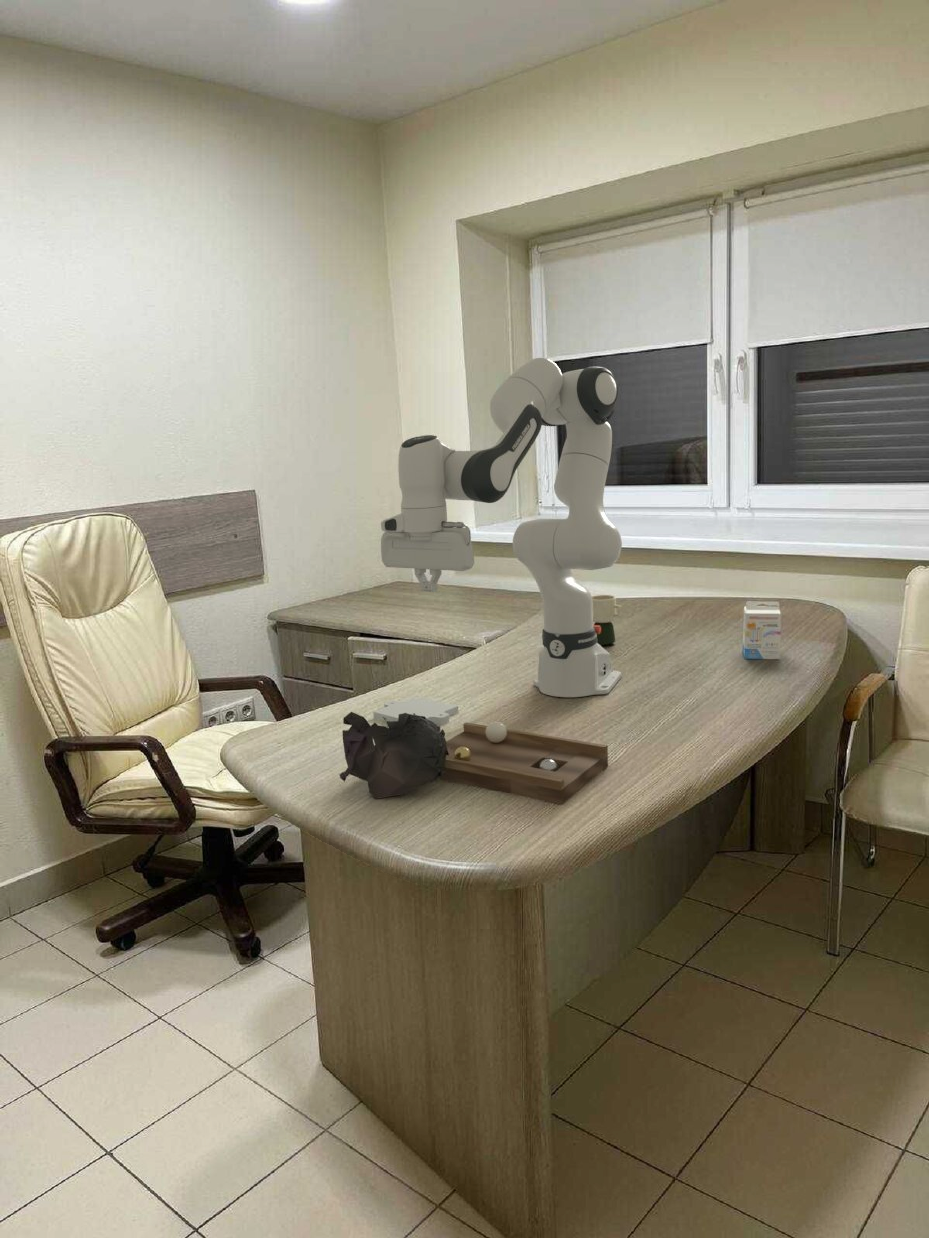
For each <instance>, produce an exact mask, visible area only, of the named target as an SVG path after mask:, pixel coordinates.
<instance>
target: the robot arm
mask: <svg viewBox="0 0 929 1238" xmlns="http://www.w3.org/2000/svg"><path fill="white" fill-rule="evenodd" d="M618 395H619V387H618V382H617V380H616V378H615V376H614V375H613V373H612V372H611V371H610V370H609V369H608V368H606V367H604V366H587V367H585V368H581V369H575V370H570V371H565V372H563V373H562V371H561V368H559V366H558V365H557V363H555V362H554V361H552V360H550V359H548V358H545V357H535V358H532V359H531V360H529V361H527V362H526V363H524V364H523V365H522V366H520V367H519V368H517V369H516V370H515V371H514V372H513V373H511V375H509V376H508V377H507V379H505V380H504V382H503V383H502V384H501V385H500V386H499V387H498V388H497V389H496V390H495V392H494V394H493V395H492V397H491V399H490V401H489V411H490V415H491V418H492V421H493V423H494V424H495V426H496V427H497V429H499V431H501V432H502V435H501V436H500V437H499V439H498V440H497V442H496V443H495V445H494V446H491V447H488V448H485V449H480V450H456V449H454V448H451V447H449V446H448V445H446V444H444V443H443V442H441V440H440V438H439V437H438V436H437V435H433V434H425V435H419V436H414V437H410V438H407V439H406V440H405V441H403V442H402V443H401V444H400V446H399V447H400V448H399V453H398V465H397V466H398V467H397V469H398V470H397V471H398V484H399V488H400V491H401V503H400V513H399V514H396V515H394V516H391V517H389V518H385V519H384V520H382V521H381V522H380V527H381V531H383V533H382V535H381V538H380V554H381V555H380V557H381V562H382V564H383V565H384V567H386V568H396V569H397V568H401V569H413V571H414V575H415V577H416V579H417V581H418V582H419V585H420V586H419V587H420V591H421V592H430V593H431V592H433V593H435V592H437V591H438V589H439V588H438V582H439V580H440V577H441V576H442V573H443V572H442V571H455V572H456V571H458V572H464V571H469V570H471V569H472V568H473V566H474V565H475V554H474V550H473V543H472V539H471V538H472V536H471V535H472V534H471V528H469V526H468V525H467V524H464V522H463V521H455V522H453V521H448V512H447V511H448V510H447V501H446V500H454V501H455V500H456V501H475V502H481V503H486V504H492V503H493V504H494V503H496V502H498V501H499V500H501V499H502V498H503V497H504V496H505V495H506V493H507V492H508V490H509V488H510V486H511V484H512V480H513V479H514V476H515V473H516V471H517V469H518V467H519V466H520V464H522V461H523V460H524V458H525V457H526V455H527V454H528V452H529V450H530V449H531V447H532V446H533V444H534V443H535V441H536V439H537V438H538V436H539V434H540V432H541V429H542V427H543V426H545V427H557V426H559V425H561V426H562V425H565V429H566V438H565V441H564V445H563V448H562V451H561V455H560V458H559V463H558V467H557V472H556V475H555V480H554V485H553V489H554V494H555V496H556V497H557V500H559V501H560V502H561V503H562V504H563V505H565V506H566V507H568V508H569V509H568V511H569V512H568V516H567V518H537V519H532V520H527V521H524V522H522V523H520V524H519V525H518V527H516V529H515V531H514V533H513V536H512V549H513V550H512V551H513V553H514V555H515V557H516V559H517V560H518V561H519V562H520V563H522V564H523V565H524V566H525V568H527V569H528V571H529V572H530V574H531V575H532V577H533V578H534V580H535V582H536V584H537V587H538V589H539V593H540V596H541V603H542V604H541V605H542V613H543V628H542V633H541V640H542V646H543V648H542V649H540V650H539V652H538V662H537V663H538V664H537V665H538V666H537V678H535V679H534V680H533V685H534V686H535V687H537V688H538V690H539V691H540V692H541V693H542V694H545V695H547V696H550V697H551V696H552V697H557V698H558V697H560V698H580V697H587V696H595V695H607V694H609V693H610V692H611V691H612V689H613V688H614V687H615V686H616V684H617V683H618V682H619V680H620V679H621V678H622V672H621V671H619V670H615V669H612V659H611V654H610V653H609V652H608V651H607V650H606V648H604V647H602V645H599V644H598V643H597V642H598V640H597V634H600V633H601V627H600V625H597V626H595V625H594V622H593V605H592V596H593V595H592V594H591V593H590V591H589V589H588V588H587V587H585V586H583V584H580V583H579V582H578V581H577V580H576V578H575V576H574V575H573V573H572V570H579V571H580V570H581V571H582V570H583V571H594V570H595V571H596V570H601V569H607V568H610V567H612V566H614V565H615V563H617V560H618V559H619V557H620V556H621V554H622V553H621V552H622V545H623V542H622V537H621V534H620V532H619V530H618V528H617V527H616V526H615V525H614V524H613V523H612V522H611V521H610V520H609V518H608V516H607V514H606V511H605V507H604V493H605V489H606V488H605V487H606V481H607V478H608V477H607V476H608V471H609V468H610V467H609V466H610V461H611V455H612V449H613V448H612V447H613V446H612V444H613V430H612V427H611V425H610V423H609V422H608V421H609V420H610V419H611V418H612V417H613V414H614V412H615V411H614V409H615V408H616V405H617V400H618ZM427 570H429V575H431V578H430V580H428V578H427V576H426V574H425V573H427Z"/></svg>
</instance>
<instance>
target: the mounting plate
mask: <svg viewBox="0 0 929 1238" xmlns="http://www.w3.org/2000/svg"><path fill="white" fill-rule="evenodd" d="M383 706H384V707H383V708H380V709H376V710H374V711H372V713H373V719H374V720H377V719H379V720H378V721H381V720H382V722H385V723H386V721H398V717H399V714H403V713H407V714H412V715H414V714H413V713H415V715H418V716H424V717H426V719H428V720H430V721H432V722H433V723H434V724H436V725H438V726H439V725H440V726H441V725H445V724H448V723H450V717H452V716H455V715H456V714H459V713H460V712H459V706H458V705H455V704H451V703H447V702H442V701H438V700H434V699H429V698H425V697H422V696H421V697H420V696H416V695H415V696H413V697H410V698H408V699H407V698H406V699H405V700H402V701H399V700H398V701H397V700H389V701H386V702H384V705H383ZM383 717H384V718H386V721H385V719H384V718H383ZM387 719H388V720H387Z"/></svg>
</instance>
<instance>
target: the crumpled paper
mask: <svg viewBox="0 0 929 1238" xmlns="http://www.w3.org/2000/svg"><path fill="white" fill-rule="evenodd" d="M413 714H414V715H412V714H407V713H403V714H399V717H398V721H386V718H384V717H383V718H384V719H385V721H386V722H385V721H384V722H385V723H386V725H387V726H385V725H378V724H377V723H376V722H374V723H372V724H370V723H369V721H368V720H367V719H366V717H364V716H362V715H360V714H358V713H356V712H353V711H350V712H348V713H347V714H346V715H345V716H343V719H342V720H343V722H342V723H343V724H344V725H347V726H350V728H348V730H347V729H346V730H345V729H343V730H342V742H343V743H342V744H343V750H344V757H345V762H346V765H347V767H346V769H345V770H344V771H342V772H341V773H339V775H338V776H339V779H341V780H342V781H343V782H346V780H347V778H348V777H349V776H350V775H351V776H353V777H354V778H357V779H360V780H363V781H364V782H367V786H368V793H369V794H370V795H371V796H372V797H373V798H374V800H375V799H381V798H386V797H392V796H393V797H394V796H400V795H402V796H403V795H406V794H409V793H410V791H411V790H412V789H415V788H418V787H421V786H425V785H427V784H429V783H433V782H435V781H436V782H437V781H438V780H440V779H439V778H441V774H443V773H444V771H445V761H446V755H449V753H448V750H447V745H446V741H447V740H446V738H445V736H446V732H445V731H444V729H443V728H442V729H441V725H440V726H439V725H438V724H434V723H433V722H432V721H430V720H428V719H426V717H424V716H418V715H415V713H413ZM387 720H388V719H387ZM451 749H452V748H451ZM449 767H450V766H449ZM442 777H443V776H442Z"/></svg>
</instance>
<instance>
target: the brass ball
mask: <svg viewBox="0 0 929 1238" xmlns="http://www.w3.org/2000/svg"><path fill="white" fill-rule="evenodd" d="M454 757H455V759H459V760H464V761H469V760H470V759H471V752H470V750H469V749H468V748H466V747H459V748H457V749H456V751H455V753H454Z"/></svg>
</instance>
